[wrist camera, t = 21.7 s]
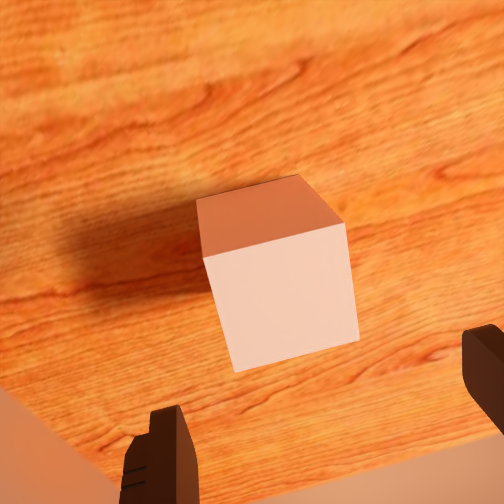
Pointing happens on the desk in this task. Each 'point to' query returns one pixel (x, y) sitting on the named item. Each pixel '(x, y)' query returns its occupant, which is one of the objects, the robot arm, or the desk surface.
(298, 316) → the upright white pillar block
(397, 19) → the desk surface
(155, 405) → the desk surface
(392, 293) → the desk surface
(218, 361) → the desk surface
